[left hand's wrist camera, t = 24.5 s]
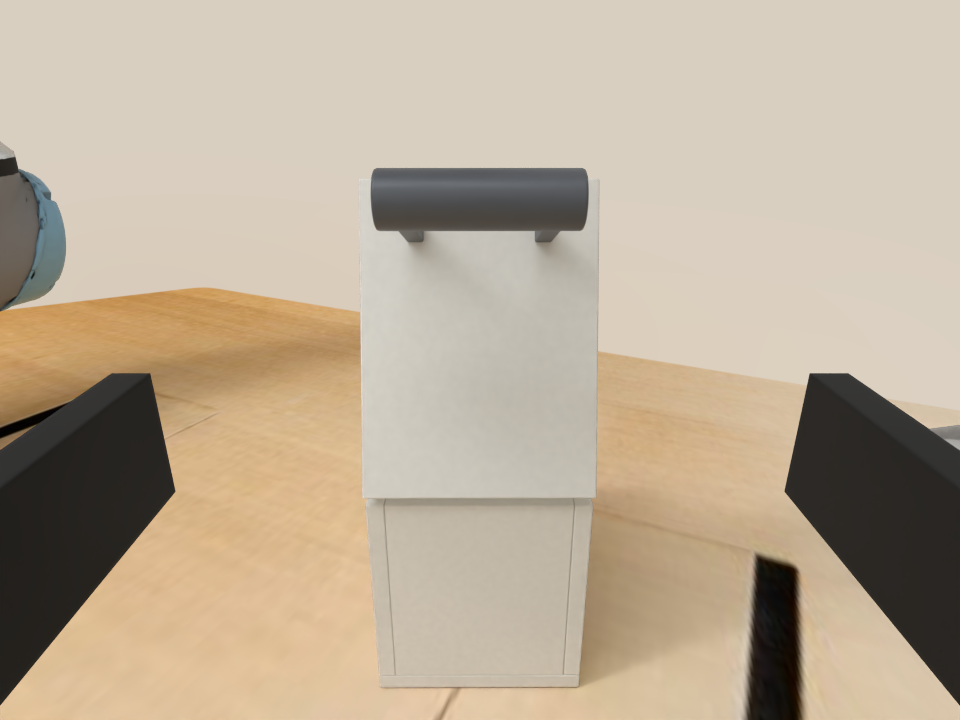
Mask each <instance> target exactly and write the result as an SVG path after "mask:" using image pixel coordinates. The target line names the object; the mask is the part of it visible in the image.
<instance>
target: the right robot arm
mask: <svg viewBox="0 0 960 720" xmlns="http://www.w3.org/2000/svg"><path fill="white" fill-rule="evenodd" d="M65 255H66V238H65V229H64V224H63V220H62V216H61V213H60V210H59V208H58V206H57V203H56V202H54V201H52V200H51V192H50V191H49V189H48V188H47V186H46V185H45V184H44V183H43V182H42V181H41V180H40V179H39V178H37V177H36V176H34V175H33V174H31V173H28V172H25V171H23V170H21V169H18V166H17V162H16V158H15V154H14V151H12V150H11V149H10V148H8V147H7V146H6V145H4V144H3V143H1V142H0V311H3V310H6V309H8V308H10V307H11V306H14V305H18V304H21V303H25V302H28V301H32V300H35V299H38V298H40V297H42V296H44V295H45V294H47V293H48V292H49V291H50V290H51V289H52V288H53V286H54V285H55V282H56V281H57V280H58V279H59V278H60V275H61V273H62V270H63V267H64V262H65Z"/></svg>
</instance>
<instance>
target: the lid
mask: <svg viewBox="0 0 960 720" xmlns="http://www.w3.org/2000/svg"><path fill="white" fill-rule="evenodd" d="M359 249H360V332H361V415H362V497H363V498H364V499H412V498H596V475H597V374H598V273H599V179H588V176H587V172H586V170H585V169H583V168H376V169H374V171H373V173H372V178H371V179H359Z"/></svg>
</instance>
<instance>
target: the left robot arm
mask: <svg viewBox="0 0 960 720" xmlns="http://www.w3.org/2000/svg"><path fill="white" fill-rule="evenodd" d="M174 493H175V487H174V482H173V478H172V473H171V468H170V464H169V459H168V454H167V450H166V445H165V440H164V436H163V431H162V426H161V422H160V417H159V412H158V408H157V403H156V398H155V394H154V389H153V384H152V380H151V375H150V373H112V374H110V375H109V376H107V377H106V378H104V379H103V380H102V381H100V382H99V383H97V384H96V385H94V386H93V387H91V388H90V389H88V390H87V391H86V392H84V393H83V394H81V395H80V396H78V397H77V398H75V399H74V400H72V401H71V402H70V403H68V404H67V405H65V406H64V407H62V408H61V409H59V410H58V411H57V412H55V413H54V414H52V415H51V416H49V417H48V418H46V419H45V420H43V421H42V422H41V423H39V424H38V425H36V426H35V427H33V428H32V429H30V430H29V431H27V432H26V433H25V434H23V435H22V436H20V437H19V438H17V439H16V440H14V441H13V442H11V443H10V444H9V445H7V446H6V447H4V448H3V449H1V450H0V705H1V704H2V703H3V701H4V700H5V699H6V698H7V697H8V695H9V694H10V693H11V692H12V690H13V689H14V688H15V687H16V686H17V684H18V683H19V682H20V681H21V679H22V678H23V677H24V676H25V675H26V673H27V672H28V671H29V670H30V668H31V667H32V666H33V665H34V664H35V662H36V661H37V660H38V659H39V657H40V656H41V655H42V654H43V653H44V651H45V650H46V649H47V648H48V646H49V645H50V644H51V643H52V642H53V640H54V639H55V638H56V637H57V635H58V634H59V633H60V632H61V631H62V629H63V628H64V627H65V626H66V625H67V623H68V622H69V621H70V620H71V618H72V617H73V616H74V615H75V614H76V612H77V611H78V610H79V609H80V607H81V606H82V605H83V604H84V603H85V601H86V600H87V599H88V598H89V596H90V595H91V594H92V593H93V592H94V590H95V589H96V588H97V587H98V585H99V584H100V583H101V582H102V581H103V579H104V578H105V577H106V576H107V574H108V573H109V572H110V571H111V570H112V568H113V567H114V566H115V565H116V563H117V562H118V561H119V560H120V559H121V557H122V556H123V555H124V554H125V553H126V551H127V550H128V549H129V548H130V546H131V545H132V544H133V543H134V542H135V540H136V539H137V538H138V537H139V535H140V534H141V533H142V532H143V531H144V529H145V528H146V527H147V526H148V524H149V523H150V522H151V521H152V520H153V518H154V517H155V516H156V515H157V513H158V512H159V511H160V510H161V509H162V507H163V506H164V505H165V504H166V502H167V501H168V500H169V499H170V498H171V496H172V495H173V494H174ZM785 493H786V494H787V495H788V496H789V498H790V499H791V500H792V501H793V502H794V504H795V505H796V506H797V507H798V509H799V510H800V511H801V512H802V513H803V515H804V516H805V517H806V518H807V520H808V521H809V522H810V523H811V524H812V526H813V527H814V528H815V529H816V531H817V532H818V533H819V534H820V535H821V537H822V538H823V539H824V540H825V542H826V543H827V544H828V545H829V546H830V548H831V549H832V550H833V551H834V553H835V554H836V555H837V556H838V557H839V559H840V560H841V561H842V562H843V563H844V565H845V566H846V567H847V568H848V570H849V571H850V572H851V573H852V574H853V576H854V577H855V578H856V579H857V581H858V582H859V583H860V584H861V585H862V587H863V588H864V589H865V590H866V592H867V593H868V594H869V595H870V596H871V598H872V599H873V600H874V601H875V603H876V604H877V605H878V606H879V607H880V609H881V610H882V611H883V612H884V614H885V615H886V616H887V617H888V618H889V620H890V621H891V622H892V623H893V625H894V626H895V627H896V628H897V629H898V631H899V632H900V633H901V634H902V635H903V637H904V638H905V639H906V640H907V642H908V643H909V644H910V645H911V646H912V648H913V649H914V650H915V651H916V653H917V654H918V655H919V656H920V657H921V659H922V660H923V661H924V662H925V664H926V665H927V666H928V667H929V668H930V670H931V671H932V672H933V673H934V675H935V676H936V677H937V678H938V679H939V681H940V682H941V683H942V684H943V686H944V687H945V688H946V689H947V690H948V692H949V693H950V694H951V695H952V697H953V698H954V699H955V700H956V701H957V703H958V704H959V705H960V450H959V449H957V448H956V447H954V446H953V445H951V444H950V443H949V442H947V441H946V440H944V439H943V438H941V437H940V436H938V435H937V434H935V433H934V432H933V431H931V430H930V429H928V428H927V427H925V426H924V425H922V424H921V423H919V422H918V421H917V420H915V419H914V418H912V417H911V416H909V415H908V414H906V413H905V412H903V411H902V410H901V409H899V408H898V407H896V406H895V405H893V404H892V403H890V402H889V401H888V400H886V399H885V398H883V397H882V396H880V395H879V394H877V393H876V392H874V391H873V390H872V389H870V388H869V387H867V386H866V385H864V384H863V383H861V382H860V381H858V380H857V379H856V378H854V377H853V376H851V375H850V374H848V373H846V374H845V373H844V374H843V373H840V374H839V373H838V374H837V373H836V374H832V373H829V374H826V373H825V374H824V373H821V374H820V373H818V374H817V373H814V374H813V373H811V374H810V375H809V380H808V384H807V389H806V394H805V398H804V403H803V408H802V412H801V417H800V422H799V426H798V431H797V436H796V440H795V445H794V450H793V454H792V459H791V464H790V468H789V473H788V478H787V482H786V487H785Z"/></svg>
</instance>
